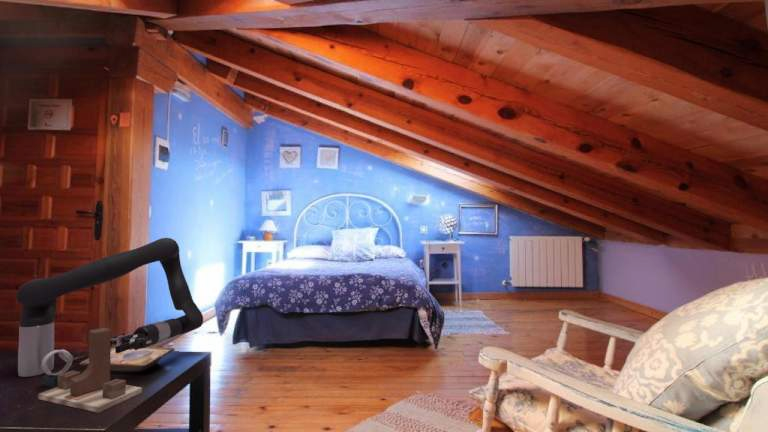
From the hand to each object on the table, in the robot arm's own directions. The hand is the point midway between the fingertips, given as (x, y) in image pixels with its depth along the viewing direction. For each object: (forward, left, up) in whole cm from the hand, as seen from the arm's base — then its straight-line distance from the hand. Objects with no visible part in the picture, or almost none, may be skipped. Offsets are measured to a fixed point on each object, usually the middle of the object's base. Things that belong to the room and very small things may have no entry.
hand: (106, 348), depth 118 cm
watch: (-20, -2, -13) cm, 24 cm away
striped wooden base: (0, -5, -13) cm, 14 cm away
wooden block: (0, -4, -11) cm, 12 cm away
